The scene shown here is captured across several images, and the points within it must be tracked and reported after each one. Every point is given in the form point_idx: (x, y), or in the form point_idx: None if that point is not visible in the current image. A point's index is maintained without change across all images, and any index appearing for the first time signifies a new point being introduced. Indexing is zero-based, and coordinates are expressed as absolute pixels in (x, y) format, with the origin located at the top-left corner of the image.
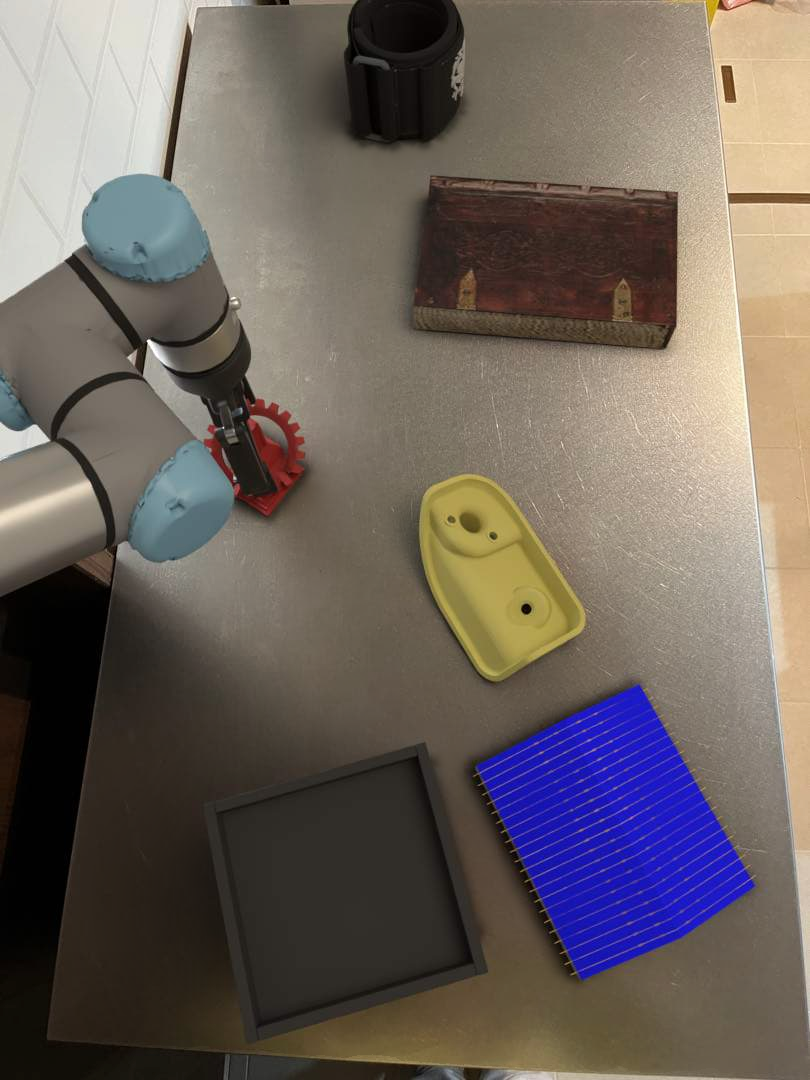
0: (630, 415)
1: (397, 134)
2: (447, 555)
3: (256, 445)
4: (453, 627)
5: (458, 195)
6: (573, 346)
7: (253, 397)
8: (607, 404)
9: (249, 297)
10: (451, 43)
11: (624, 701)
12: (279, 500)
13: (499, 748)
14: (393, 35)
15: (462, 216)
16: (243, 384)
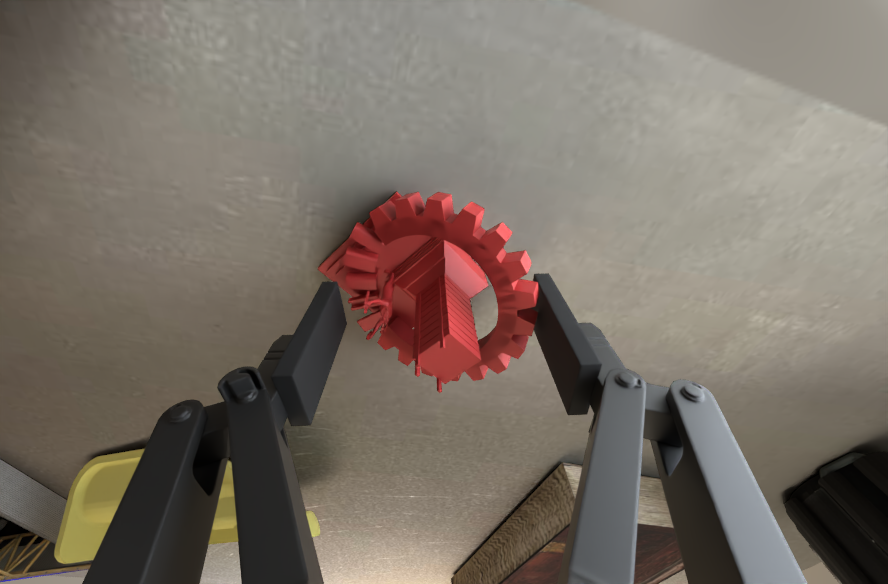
0: (397, 557)
1: (823, 487)
2: None
3: (300, 492)
4: (142, 452)
5: None
6: (478, 541)
7: (535, 332)
8: (412, 549)
9: (751, 297)
10: None
11: (62, 572)
12: (346, 290)
13: (5, 456)
14: None
15: (665, 550)
16: (555, 370)
